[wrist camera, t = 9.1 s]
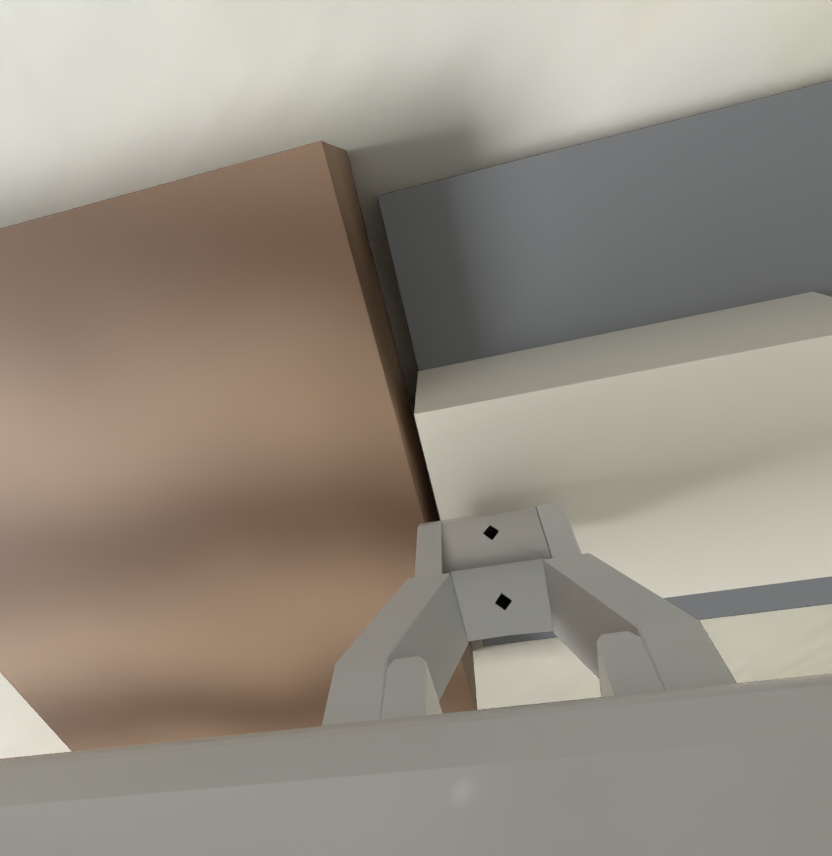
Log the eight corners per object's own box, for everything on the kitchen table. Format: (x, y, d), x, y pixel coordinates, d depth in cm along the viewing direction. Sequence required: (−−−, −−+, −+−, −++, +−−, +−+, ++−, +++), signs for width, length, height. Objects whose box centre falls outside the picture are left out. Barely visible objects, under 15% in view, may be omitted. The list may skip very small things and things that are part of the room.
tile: (783, 508, 13) (854, 573, 11) (461, 556, 14) (466, 623, 12) (813, 291, 11) (912, 319, 8) (418, 371, 12) (414, 414, 10)
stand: (472, 652, 17) (478, 721, 15) (123, 694, 19) (81, 761, 17) (345, 150, 10) (320, 141, 8) (-183, 292, 12) (-322, 317, 10)
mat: (913, 576, 15) (931, 591, 14) (482, 631, 17) (483, 646, 16) (1083, 17, 9) (1125, 6, 8) (380, 195, 11) (377, 195, 10)
